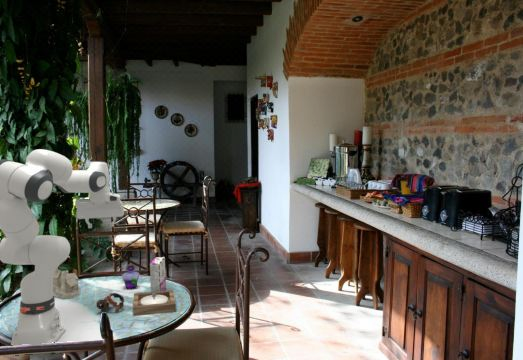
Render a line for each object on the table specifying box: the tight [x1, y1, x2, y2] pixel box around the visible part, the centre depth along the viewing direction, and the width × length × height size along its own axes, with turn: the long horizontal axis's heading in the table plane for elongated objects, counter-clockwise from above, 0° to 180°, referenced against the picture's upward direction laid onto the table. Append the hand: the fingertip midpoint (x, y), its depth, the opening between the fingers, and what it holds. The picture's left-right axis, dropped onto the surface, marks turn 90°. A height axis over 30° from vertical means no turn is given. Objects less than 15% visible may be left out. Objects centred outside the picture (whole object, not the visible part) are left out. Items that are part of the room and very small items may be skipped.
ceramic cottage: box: [53, 267, 82, 300], centre depth 223 cm, size 16×16×15 cm
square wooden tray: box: [132, 289, 177, 316], centre depth 205 cm, size 18×18×4 cm
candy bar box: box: [149, 256, 167, 292], centre depth 221 cm, size 11×5×16 cm, turn 179°
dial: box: [141, 285, 168, 305], centre depth 205 cm, size 12×12×7 cm
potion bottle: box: [121, 263, 141, 290], centre depth 229 cm, size 9×9×12 cm
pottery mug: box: [95, 292, 125, 313], centre depth 200 cm, size 12×10×8 cm
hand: (101, 227), depth 205 cm, fingers open, 8 cm apart
